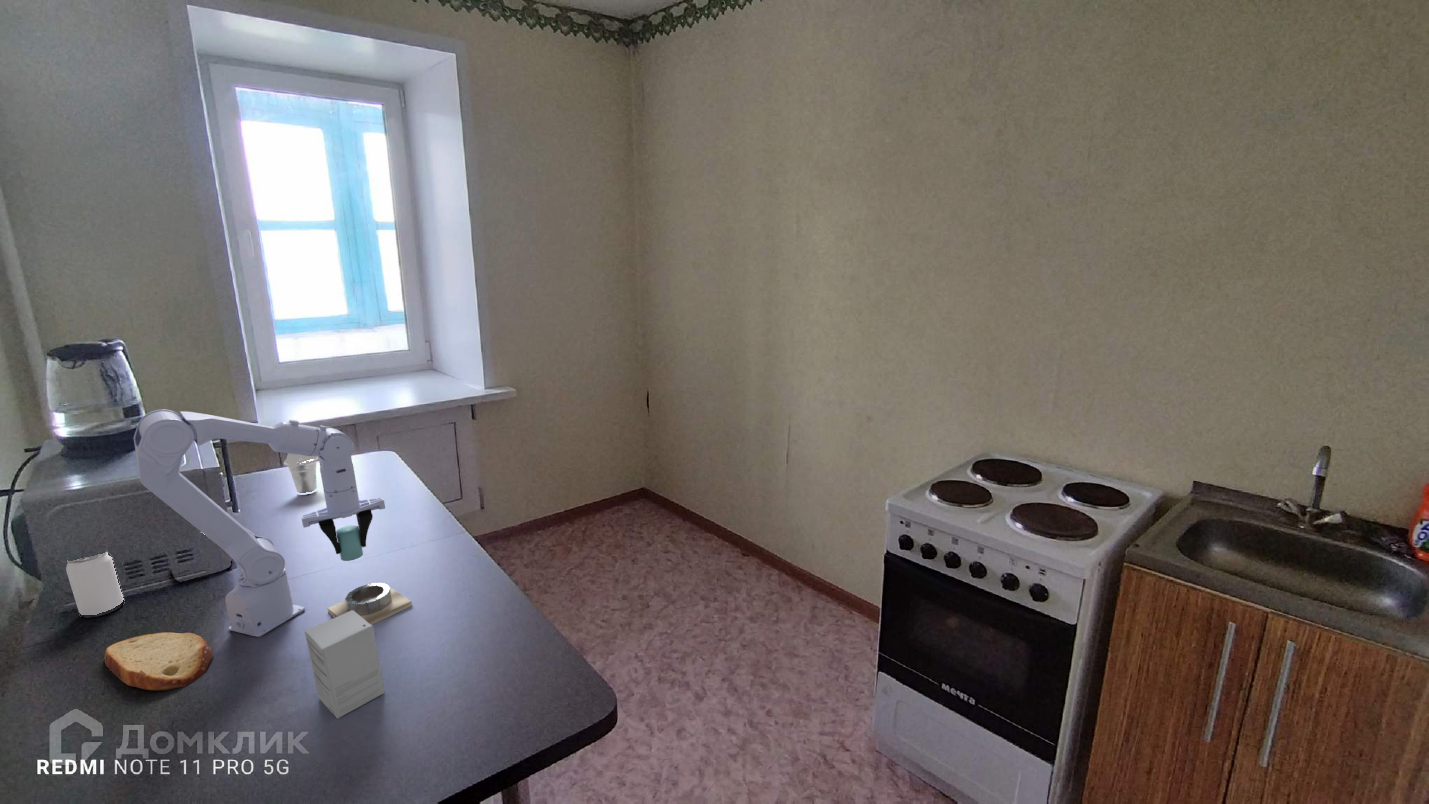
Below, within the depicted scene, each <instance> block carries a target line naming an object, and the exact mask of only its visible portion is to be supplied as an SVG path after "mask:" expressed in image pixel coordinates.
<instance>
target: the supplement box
mask: <svg viewBox="0 0 1429 804" xmlns="http://www.w3.org/2000/svg"><path fill="white" fill-rule="evenodd" d="M304 635H305V639H306V640H305V641H306V643H307V649H308V653H309V658H310V663H311V667H312V671H313V677H314V682H315V688H316V692H317V696H318V699H319V700H320V701H321V702H322V704H323V705H324V706H325V707H326V708H327V709H328V710H329V711H330V712H331V714H333V716H334V717H335V718H336V719H340V718H342V717H344V716H345V715H347V714H349V713H350V712H352V711H354V710H356V709H358V708H360V707H361V706H363V705H365V704H368V703H369V702H370V701H373V700H374V699H377V698H378V697H380V696H382V695H383V694H385V687H384V682H383V678H382V677H383V676H382V670H381V665H380V659H379V655H378V649H377V643H376V638H375V637H376V636H375V632H374V627H373V624H372V625H371V624H369V623H368V622H367V621H366V620H364V619H363V618H362V617H361V616H360V615H358V614H357V613H356V612H355V611H353V610H351V611H349V612H347V613H345V614H342V615H340V616H338V617H336V618H335V617H333V618H331V619H329V620H327V621H324V622H322V623H319V624H318V625H315V626H313V627H310V628H308V629H306V630H304Z"/></svg>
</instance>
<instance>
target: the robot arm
mask: <svg viewBox="0 0 1429 804" xmlns="http://www.w3.org/2000/svg"><path fill="white" fill-rule="evenodd" d="M179 412H180V413H178V412H176V411H173V410H170V409H155V410H152V411H150V412H148V413H146V414H145V415H143V416H142V417H141V418H140V420H139V421H138V423H137V426H136V430H135V432H134V435H133V443H134V449H135V457H136V458H135V460H136V466H137V467H136V468H137V476H138V478H139V480H140V483H141V484H142V486H143V487H145V488H146V489H147V490H148V491H150V492H151V493H152V494H154V495H155V496H156V497H157V498H159V500H161V501H162V502H163V503H165V504H166V505H167V506H169V508H171V509H172V510H174V512H175V513H177V514H178V515H180V516H181V517H182V518H183V519H185V520H186V521H187V522H188V523H189V524H191V525H192V526H193V527H195V528H196V529H197V530H199V532H200V533H203V534H204V535H206V536H207V537H208V539H209V540H211V541H212V542H213V544H217V545H218V546H219V547H221V548H222V549H223V550H224V551H225V552H226V553H227V554H228V555H229V556H230V557H231V558H232V559H233V560H232V561H234V563H236V564H237V565H238V566H239V568H240V569H241V573H240V576H239V578H238V582H239V583H238V584H237V585H236V586H235V587H234V589H232V590H231V591H229V592H228V593H227V594H226V595H225V599H224V600H225V602H224V603H225V608H226V612H227V615H228V619H229V624H230V626H229V627H228V630H229V631H232V632H236V633H241V634H244V635H248V636H253V637H257V638H260V637H262V636H264V635H265V634H267V633H268V632H271V631H272V630H273V629H275V628H277V627H278V626H280V625H282V624H283V623H285V622H286V621H288V620H290V619H293V618H294V617H295V616H297V615H298V614H300V613H302V612H303V611H305V610H306V608H305V607H304V606H302V605H296V604H293V600H292V596H291V590H290V585H289V581H288V576H287V570H286V567H285V565H286V561H285V558H284V556H283V555H282V554H281V553H280V552H278V550H277V548H276V547H275V545H274V543H273V542H272V540H270V539H269V538H268V537H266V536H260V535H257V534H255V533H253V532H252V531H251V530H250V529H248V528H246V527H245V526H243V524H241V523H240V522H239V521H237V519H235V518H234V517H233V516H232V515H230V513H228V512H227V511H226V510H225V509H223V508H222V507H221V506H220V505H218V503H216V502H215V501H214V500H213V499H211V498H210V496H208V495H207V494H206V493H204V492H203V491H202V490H201V489H200V488H199V487H198V486H196V485H195V484H194V483H193V482H191V481H190V480H189V479H188V478H187V477H186V476H185V475H184V474H182V473H181V472H180V468H181V463H182V460H183V459H182V458H183V457H184V455H185V454H187V452H188V450H189V449H191V448H190V447H191V446H192V444H193V442H194V443H195V444H196V445H197V446H198V447H199V446H201V445H202V446H203V445H204V444H206V443H208V442H211V441H213V440H214V439H221V440H232V441H240V442H247V443H248V442H249V443H251V442H252V443H259V444H268V446H269V447H270V449H271V450H272V451H273V452H275V453H282V454H283V453H285V454H288V453H290V454H297V455H304V456H317V455H318V457H319V460H318V462H319V472H320V477H321V483H322V488H323V495H324V500H325V506H326V507H324V508H321V509H318V510H316V511H313V512H309V513H307V514H303V515H302V514H301V516H300V517H301V522H302V526H303V527H302V528H309V527H310V526H312V525H316V524H318V525H319V526H318V527H319V528H320V530H321V532H323V534H324V535H325V536H326V537H327V538H328V540H329V541H330V542H331V544H332V546H333V548H334V550H335V551H334V552H335V555H340V548H339V544H338V539H337V534H336V531H337V529H336V525H335V521H334V520H337V519H345V518H349V517H353V516H354V515H356V520H357V526H358V527H359V533H360V539H361V545H362V548H366V547H367V537H368V536H367V535H368V531H369V529H370V526H371V523H372V521H373V518H374V517H373V516H374V515H373V513H372V512H373V511H374V510H384V509H386V506H385V505H386V503H385V499H384V498H383V497H376V498H371V499H370V498H369V499H361V500H360V498H359V497H360V496H359V493H358V486H357V480H356V474H355V468H354V467H355V466H354V463H353V459H352V455H353V453H354V450H355V443H353V441H352V439H351V437H349V435H347V434H346V433H344V432H343V431H341V430H340V429H338V428H333V427H331V426H325V425H319V426H313V425H305V424H300V421H298V420H297V419H289V420H288V422H287V421H280V422H278V423H276V424H274V425H271V426H270V425H265V424H260V423H254V422H249V421H244V420H238V419H234V418H229V417H223V416H219V415H212V414H207V413H200V412H194V411H179Z"/></svg>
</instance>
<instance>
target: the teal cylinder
mask: <svg viewBox="0 0 1429 804" xmlns="http://www.w3.org/2000/svg"><path fill="white" fill-rule="evenodd" d="M336 535H337V541H338V544H339V548H340V554H339V555H340V560H341V561H345V562H350V561H354V560H357V559H359V558H362V556H364V551H363V547H362V545H361V539H360V533H359V526H358V525H353V524H351V525H346V526H343V527H340V528H338V529H336Z"/></svg>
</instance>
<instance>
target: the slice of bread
mask: <svg viewBox="0 0 1429 804" xmlns="http://www.w3.org/2000/svg"><path fill="white" fill-rule="evenodd" d="M208 643H209V642H207V641H206V640H205V639H204V638H203V637H202V636H201V635H198V634H195V633H192V632H183V633H179V632H178V633H177V632H164V631H163V632H157V633H151V634H150V633H148V634H143V635H138V636H134V637H131V638H128V639H124V640H121V641H118V642H115V643H113V644H111V645H109V646H108V647H106V650H105V653H104V658H103V660H104V659H105V661H104V663H105V666H106V667H108V668H109V669H108V668H107V669H108V670H109V671H110V672H111V671H112V672H111V673H113V675H114V676H115V677H116V678H117V679H119V680H120V681H121V682H122V683H124V684H126V685H127V686H130V687H135V688H138V689H141V690H145V691H146V690H147V691H170V690H174V689H176V688H177V689H178V688H182V687H183V688H184V687H185V686H188V685H190V684H192V683H193V682H195V681H196V680H198V679H199V678H201V677H202V676H203V675H204V674H205V673H206V672H207V671H208V668H209V664H210V662H211V660H212V659H213V656H214V652H213V650H212V648H211V646H210V645H209V644H208Z"/></svg>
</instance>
